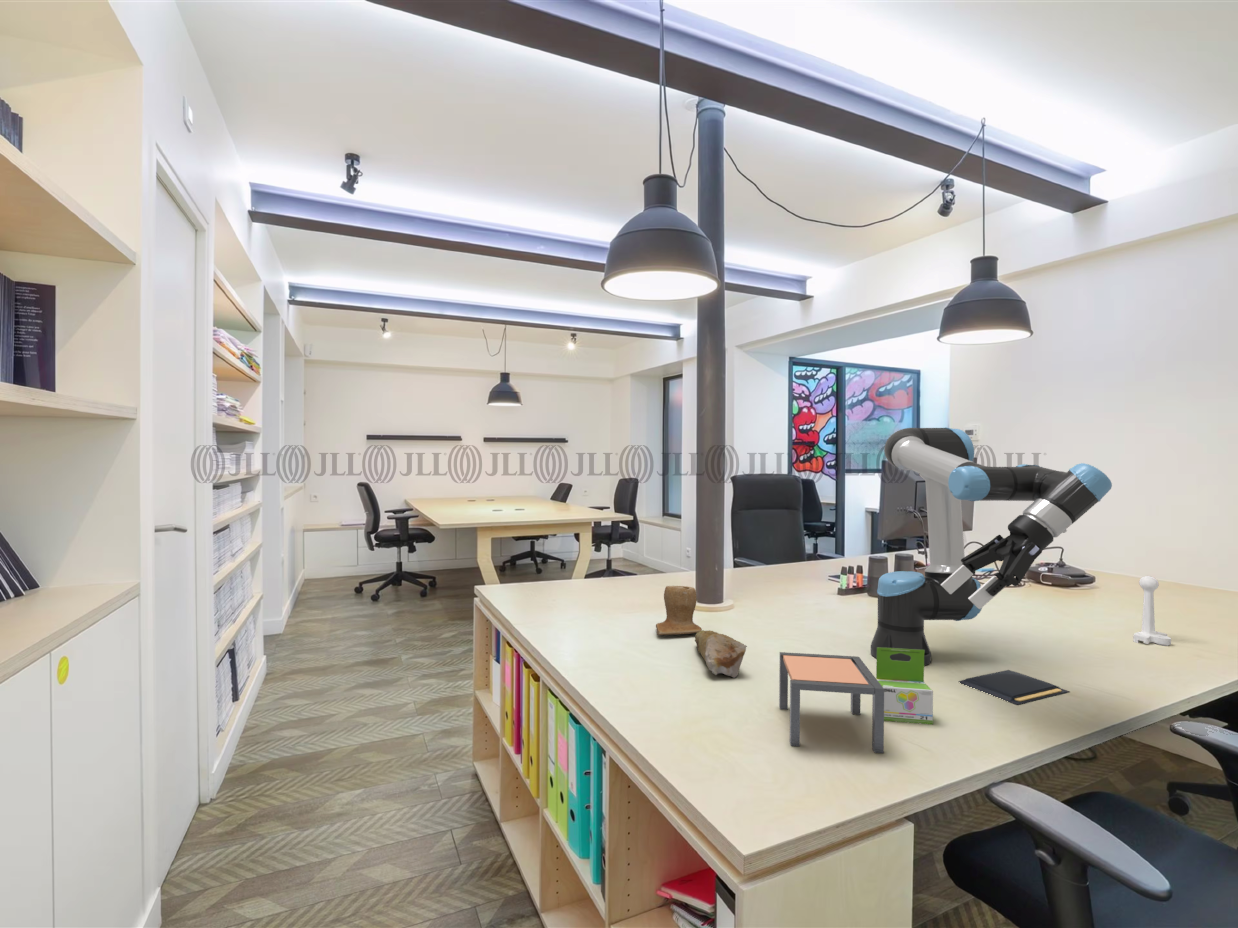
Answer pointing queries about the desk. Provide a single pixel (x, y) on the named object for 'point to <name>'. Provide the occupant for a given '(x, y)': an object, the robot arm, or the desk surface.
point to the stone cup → (679, 611)
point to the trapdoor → (823, 670)
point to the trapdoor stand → (854, 689)
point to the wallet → (1014, 687)
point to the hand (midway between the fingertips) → (958, 596)
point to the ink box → (904, 686)
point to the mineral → (720, 652)
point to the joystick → (1150, 615)
